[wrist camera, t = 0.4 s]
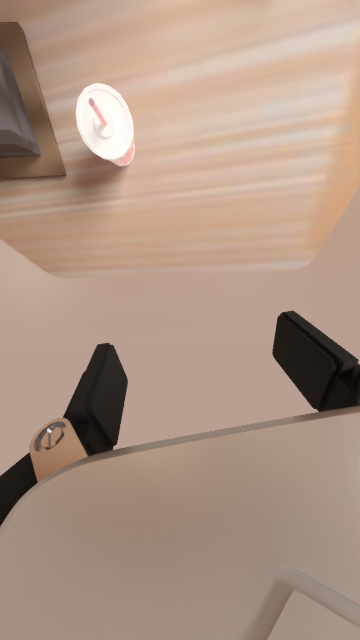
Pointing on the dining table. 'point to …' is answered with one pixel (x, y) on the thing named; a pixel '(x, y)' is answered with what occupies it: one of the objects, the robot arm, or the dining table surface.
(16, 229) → the dining table surface
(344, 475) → the robot arm
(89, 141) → the beverage cup
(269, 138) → the dining table surface
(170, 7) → the dining table surface
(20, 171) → the socket block
